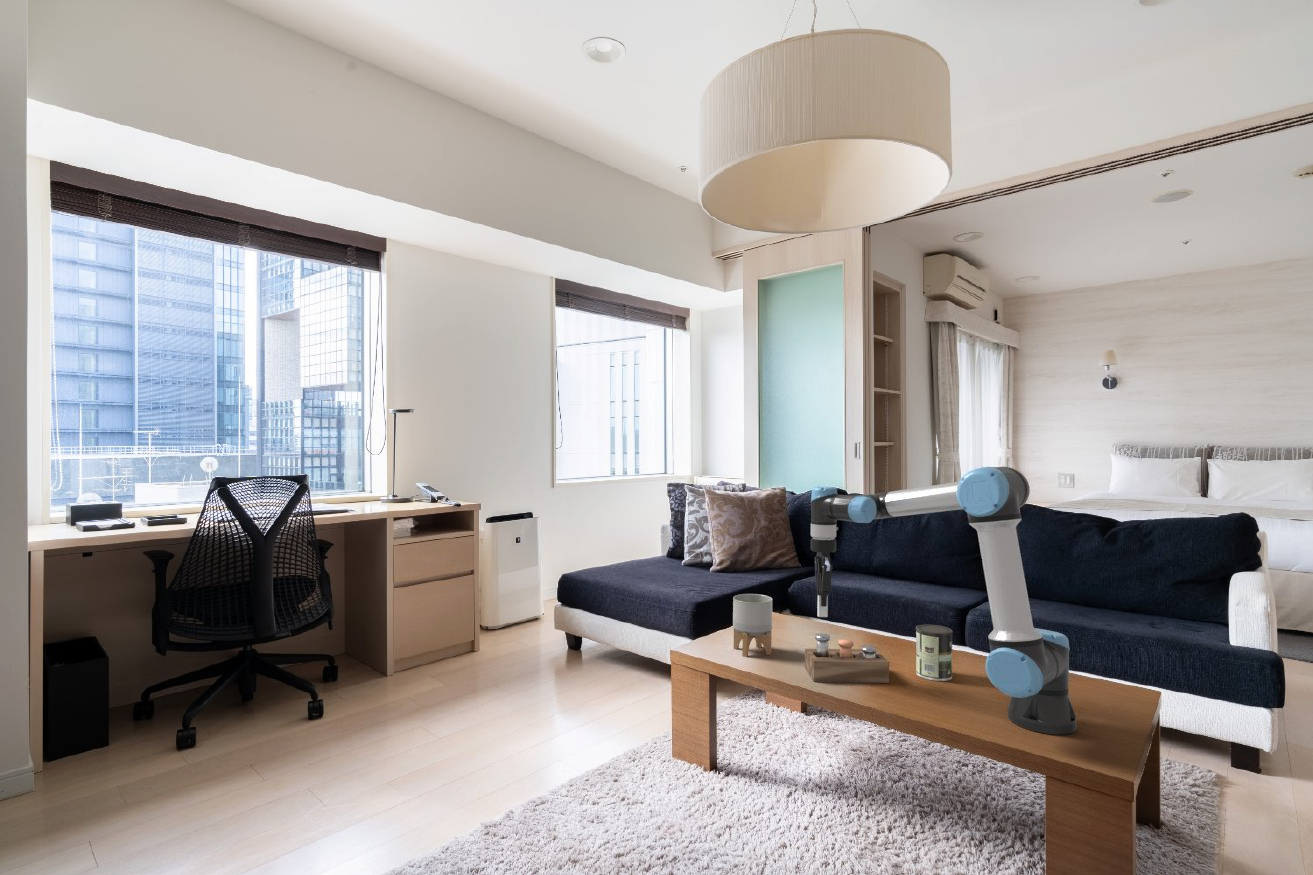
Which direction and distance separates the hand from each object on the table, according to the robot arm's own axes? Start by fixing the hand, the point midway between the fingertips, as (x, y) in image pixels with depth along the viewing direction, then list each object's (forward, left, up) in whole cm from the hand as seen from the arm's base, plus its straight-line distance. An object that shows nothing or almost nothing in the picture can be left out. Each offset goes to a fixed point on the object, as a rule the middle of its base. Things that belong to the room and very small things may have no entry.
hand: (822, 616), depth 202 cm
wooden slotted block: (0, -7, -18) cm, 19 cm away
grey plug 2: (0, -14, -17) cm, 22 cm away
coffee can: (+1, -34, -18) cm, 38 cm away
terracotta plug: (0, -7, -15) cm, 16 cm away
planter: (+22, +18, -18) cm, 33 cm away
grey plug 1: (0, 0, -13) cm, 13 cm away
